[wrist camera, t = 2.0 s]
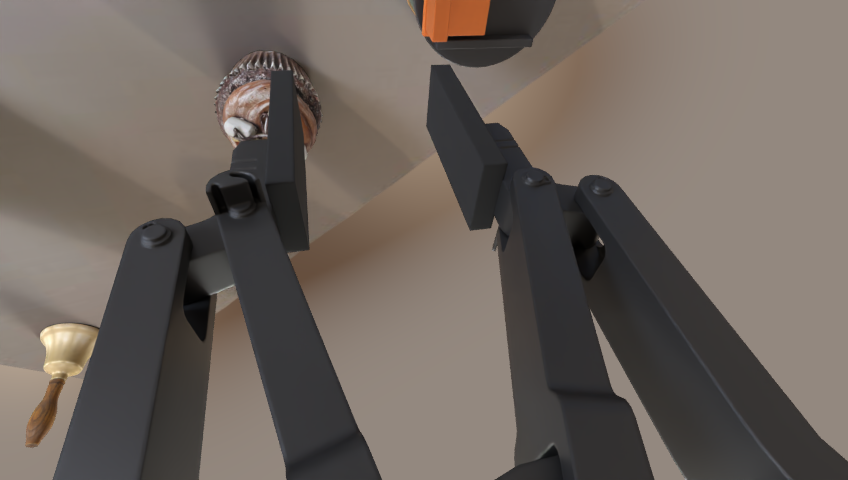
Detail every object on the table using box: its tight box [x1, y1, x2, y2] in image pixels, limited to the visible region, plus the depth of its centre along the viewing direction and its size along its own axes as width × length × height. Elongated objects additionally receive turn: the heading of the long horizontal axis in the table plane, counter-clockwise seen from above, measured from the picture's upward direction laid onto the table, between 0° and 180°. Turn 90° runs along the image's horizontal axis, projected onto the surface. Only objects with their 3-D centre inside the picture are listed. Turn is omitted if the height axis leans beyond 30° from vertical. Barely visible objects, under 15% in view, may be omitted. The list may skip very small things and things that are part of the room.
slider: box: [422, 0, 490, 42], centre depth 26 cm, size 4×5×2 cm
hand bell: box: [25, 323, 99, 448], centre depth 58 cm, size 8×8×16 cm
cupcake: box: [214, 51, 323, 159], centre depth 39 cm, size 10×10×10 cm
